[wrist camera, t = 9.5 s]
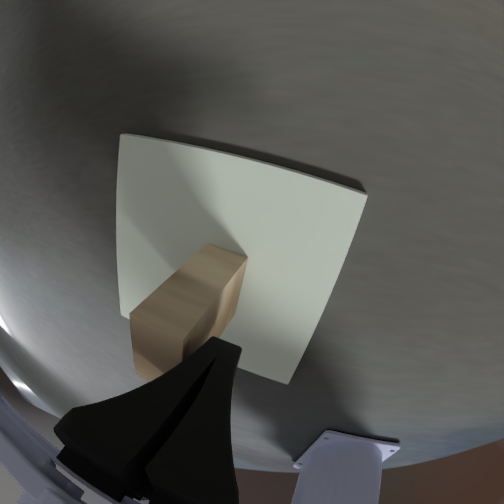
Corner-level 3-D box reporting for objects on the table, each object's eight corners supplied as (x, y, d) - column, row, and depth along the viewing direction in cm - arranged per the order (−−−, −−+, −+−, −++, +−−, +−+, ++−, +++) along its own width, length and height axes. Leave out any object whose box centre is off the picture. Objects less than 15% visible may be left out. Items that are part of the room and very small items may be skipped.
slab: (236, 313, 18) (181, 398, 12) (199, 298, 18) (135, 373, 12) (248, 257, 16) (184, 340, 10) (207, 242, 16) (128, 312, 10)
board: (289, 378, 20) (287, 384, 19) (125, 310, 22) (121, 314, 22) (366, 193, 13) (367, 195, 13) (126, 133, 16) (120, 134, 15)
